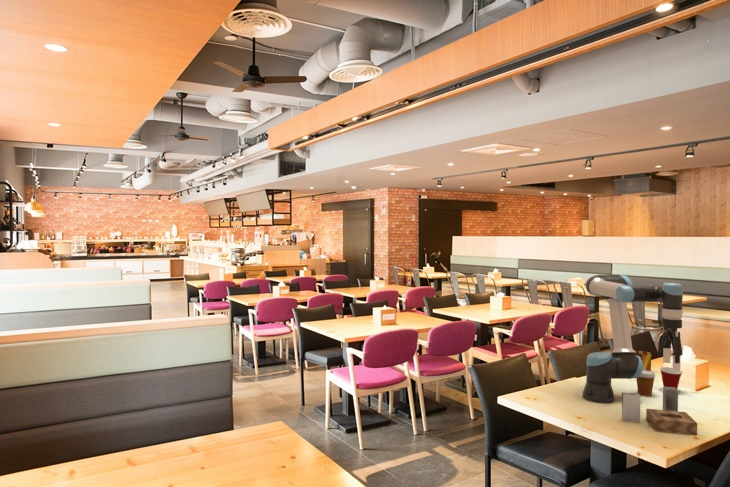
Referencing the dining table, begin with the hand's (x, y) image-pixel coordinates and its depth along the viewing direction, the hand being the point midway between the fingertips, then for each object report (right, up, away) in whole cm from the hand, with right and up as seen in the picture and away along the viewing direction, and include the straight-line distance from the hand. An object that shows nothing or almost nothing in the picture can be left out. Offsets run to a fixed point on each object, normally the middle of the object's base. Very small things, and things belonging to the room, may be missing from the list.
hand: (671, 366), depth 220 cm
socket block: (0, -27, 0) cm, 27 cm away
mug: (+36, -26, +89) cm, 100 cm away
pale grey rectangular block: (-13, -27, +8) cm, 31 cm away
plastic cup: (+31, -27, +52) cm, 66 cm away
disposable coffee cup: (+14, -26, +46) cm, 55 cm away
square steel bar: (+10, -27, +17) cm, 33 cm away
